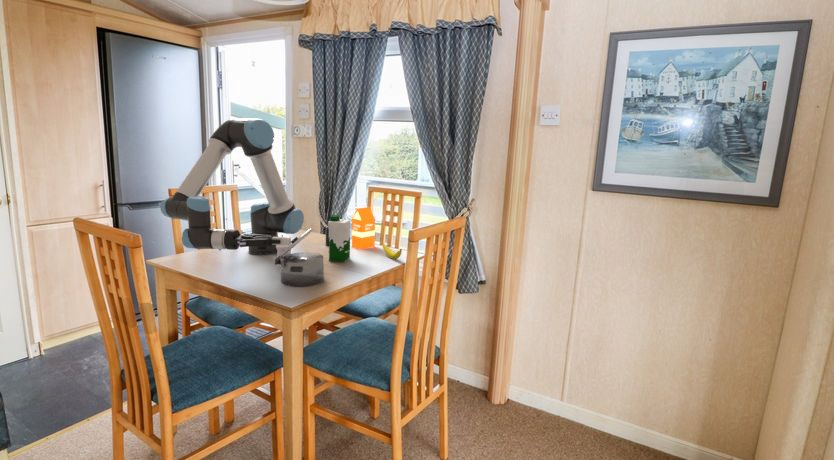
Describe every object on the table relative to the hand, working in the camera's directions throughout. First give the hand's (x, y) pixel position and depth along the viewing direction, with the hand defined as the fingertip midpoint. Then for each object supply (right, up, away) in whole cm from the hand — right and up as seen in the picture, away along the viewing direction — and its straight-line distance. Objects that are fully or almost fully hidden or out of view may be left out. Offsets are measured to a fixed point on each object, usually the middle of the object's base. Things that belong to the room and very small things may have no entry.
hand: (290, 241), depth 170 cm
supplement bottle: (+4, -4, +62) cm, 63 cm away
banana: (+36, -9, +41) cm, 55 cm away
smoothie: (-8, -12, +21) cm, 26 cm away
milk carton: (+13, -9, +36) cm, 39 cm away
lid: (+2, -1, +2) cm, 3 cm away
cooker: (+3, -15, +5) cm, 16 cm away
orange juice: (+20, -4, +60) cm, 64 cm away
